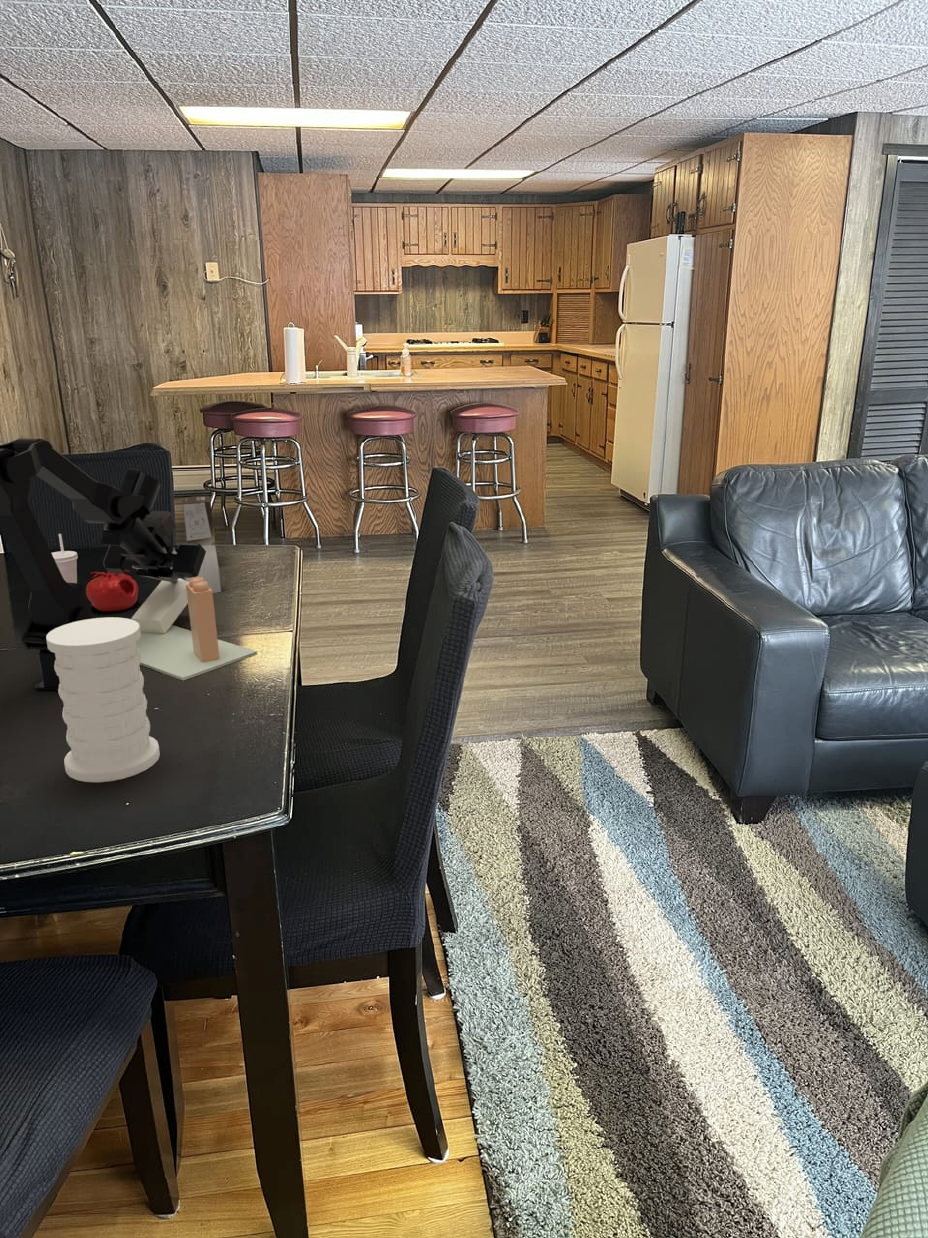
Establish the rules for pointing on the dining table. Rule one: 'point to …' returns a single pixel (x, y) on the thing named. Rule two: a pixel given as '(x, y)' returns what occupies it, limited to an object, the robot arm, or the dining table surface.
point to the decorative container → (103, 699)
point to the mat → (183, 653)
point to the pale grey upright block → (210, 569)
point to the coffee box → (198, 520)
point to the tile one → (162, 607)
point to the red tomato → (112, 591)
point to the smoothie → (66, 563)
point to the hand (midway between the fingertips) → (175, 580)
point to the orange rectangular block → (202, 619)
